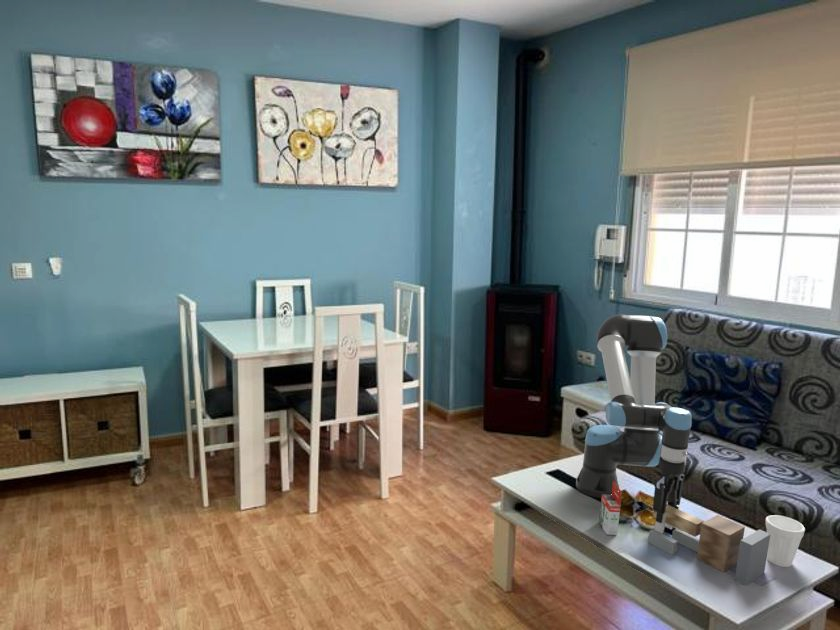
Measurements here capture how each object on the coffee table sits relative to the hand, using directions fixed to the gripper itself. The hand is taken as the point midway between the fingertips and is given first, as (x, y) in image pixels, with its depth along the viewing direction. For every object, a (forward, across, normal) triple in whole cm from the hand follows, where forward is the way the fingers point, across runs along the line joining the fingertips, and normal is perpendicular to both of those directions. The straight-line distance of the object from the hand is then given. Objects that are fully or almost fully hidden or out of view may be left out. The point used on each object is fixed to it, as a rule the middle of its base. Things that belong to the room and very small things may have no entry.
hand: (663, 529), depth 191 cm
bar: (-3, 0, -4) cm, 5 cm away
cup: (+3, +16, -28) cm, 32 cm away
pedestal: (+3, -8, -5) cm, 10 cm away
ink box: (+3, -11, +12) cm, 17 cm away
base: (+3, 0, -16) cm, 16 cm away
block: (+2, 0, -18) cm, 18 cm away
